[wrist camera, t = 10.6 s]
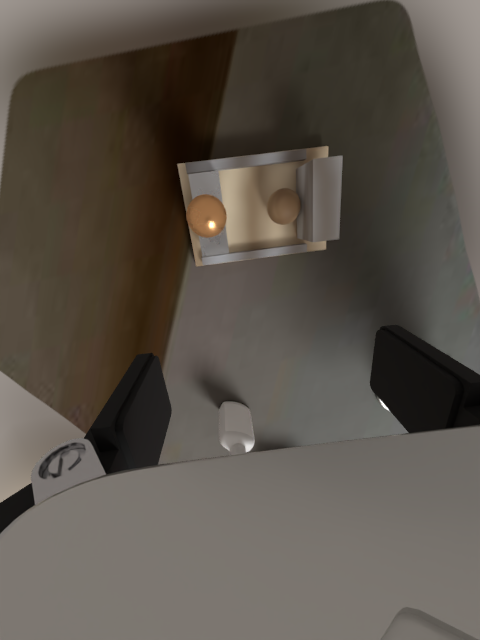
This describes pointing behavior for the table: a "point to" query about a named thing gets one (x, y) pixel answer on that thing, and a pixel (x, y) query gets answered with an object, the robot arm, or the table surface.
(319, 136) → the table surface
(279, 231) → the board
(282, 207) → the walnut
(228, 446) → the eye dropper bottle
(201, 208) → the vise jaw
